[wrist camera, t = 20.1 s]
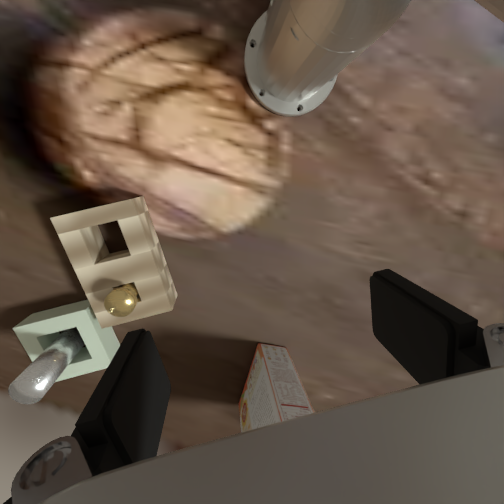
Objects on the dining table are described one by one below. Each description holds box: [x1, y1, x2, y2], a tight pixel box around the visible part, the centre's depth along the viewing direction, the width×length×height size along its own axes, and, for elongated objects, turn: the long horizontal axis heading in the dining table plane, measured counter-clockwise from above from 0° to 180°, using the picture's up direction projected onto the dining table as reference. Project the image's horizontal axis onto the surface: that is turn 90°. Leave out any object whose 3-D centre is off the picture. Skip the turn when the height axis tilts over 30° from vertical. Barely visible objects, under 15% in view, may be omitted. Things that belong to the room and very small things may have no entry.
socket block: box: [50, 196, 177, 329], centre depth 36 cm, size 16×10×5 cm, turn 13°
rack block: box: [13, 300, 120, 382], centre depth 39 cm, size 10×10×4 cm
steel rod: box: [8, 327, 85, 404], centre depth 35 cm, size 4×4×12 cm
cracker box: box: [239, 343, 315, 432], centre depth 38 cm, size 14×6×21 cm, turn 164°
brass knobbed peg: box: [104, 282, 139, 317], centre depth 36 cm, size 4×4×8 cm
